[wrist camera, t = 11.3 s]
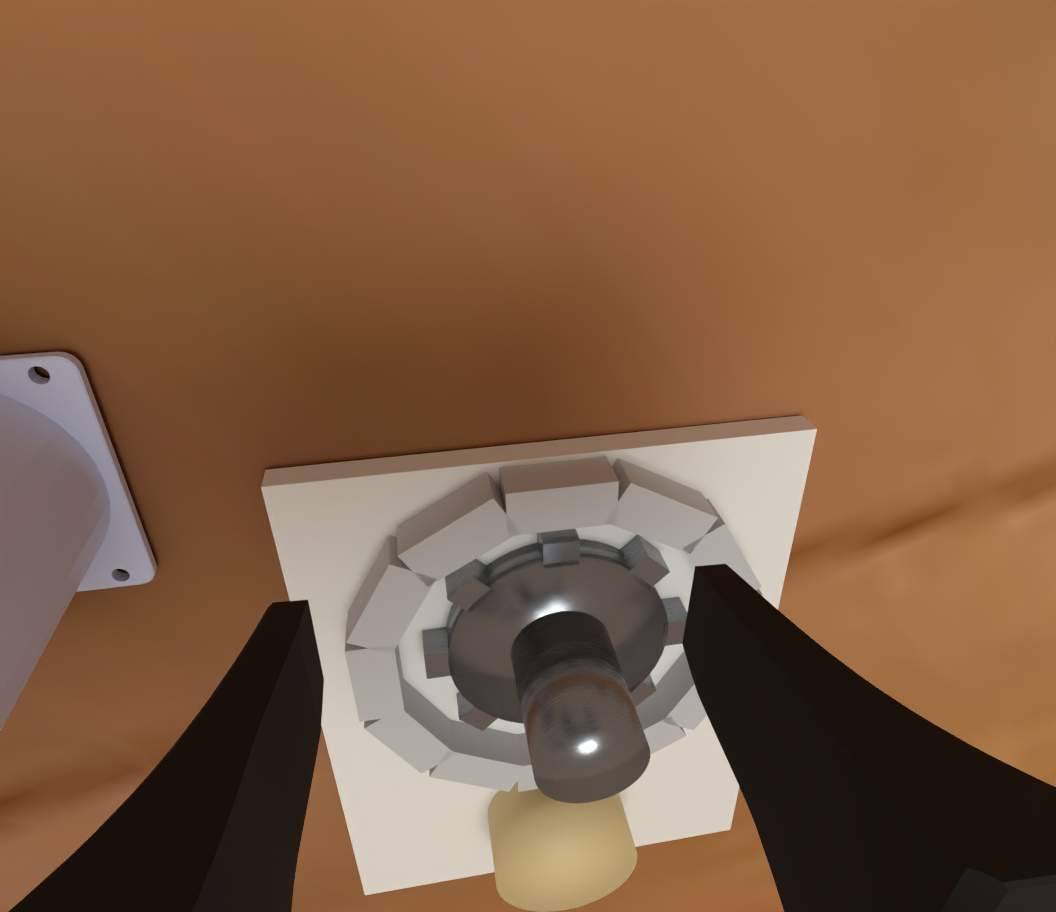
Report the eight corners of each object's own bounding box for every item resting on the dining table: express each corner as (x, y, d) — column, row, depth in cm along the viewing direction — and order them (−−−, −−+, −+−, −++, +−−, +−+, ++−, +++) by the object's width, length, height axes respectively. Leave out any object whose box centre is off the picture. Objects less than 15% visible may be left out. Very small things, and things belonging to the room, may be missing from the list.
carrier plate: (365, 873, 35) (363, 966, 31) (265, 469, 23) (244, 548, 19) (722, 811, 37) (755, 890, 34) (802, 415, 25) (867, 477, 22)
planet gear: (434, 728, 29) (445, 881, 24) (410, 536, 24) (417, 677, 19) (666, 694, 30) (723, 831, 25) (690, 505, 25) (768, 629, 20)
